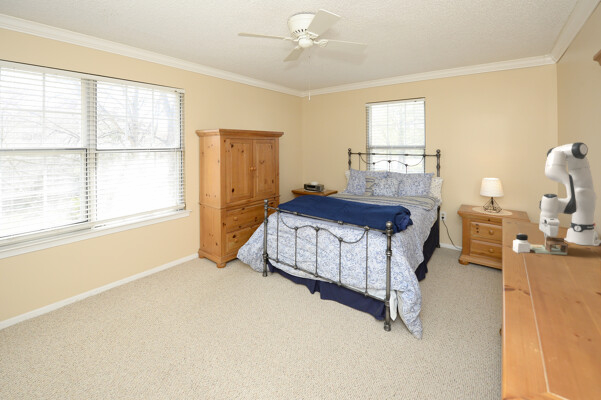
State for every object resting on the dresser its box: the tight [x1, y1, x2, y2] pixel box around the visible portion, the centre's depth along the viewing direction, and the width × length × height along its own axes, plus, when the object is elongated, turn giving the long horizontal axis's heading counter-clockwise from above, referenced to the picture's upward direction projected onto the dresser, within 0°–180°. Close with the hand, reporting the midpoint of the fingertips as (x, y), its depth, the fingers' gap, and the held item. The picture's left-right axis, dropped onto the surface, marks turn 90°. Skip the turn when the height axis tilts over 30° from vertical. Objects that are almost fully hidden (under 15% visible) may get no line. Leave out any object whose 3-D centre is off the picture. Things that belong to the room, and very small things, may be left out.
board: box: [530, 243, 568, 256], centre depth 198 cm, size 16×15×3 cm
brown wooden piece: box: [544, 237, 569, 254], centre depth 191 cm, size 9×7×8 cm
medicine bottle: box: [512, 233, 531, 254], centre depth 199 cm, size 7×7×12 cm
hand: (547, 240), depth 196 cm, fingers closed
